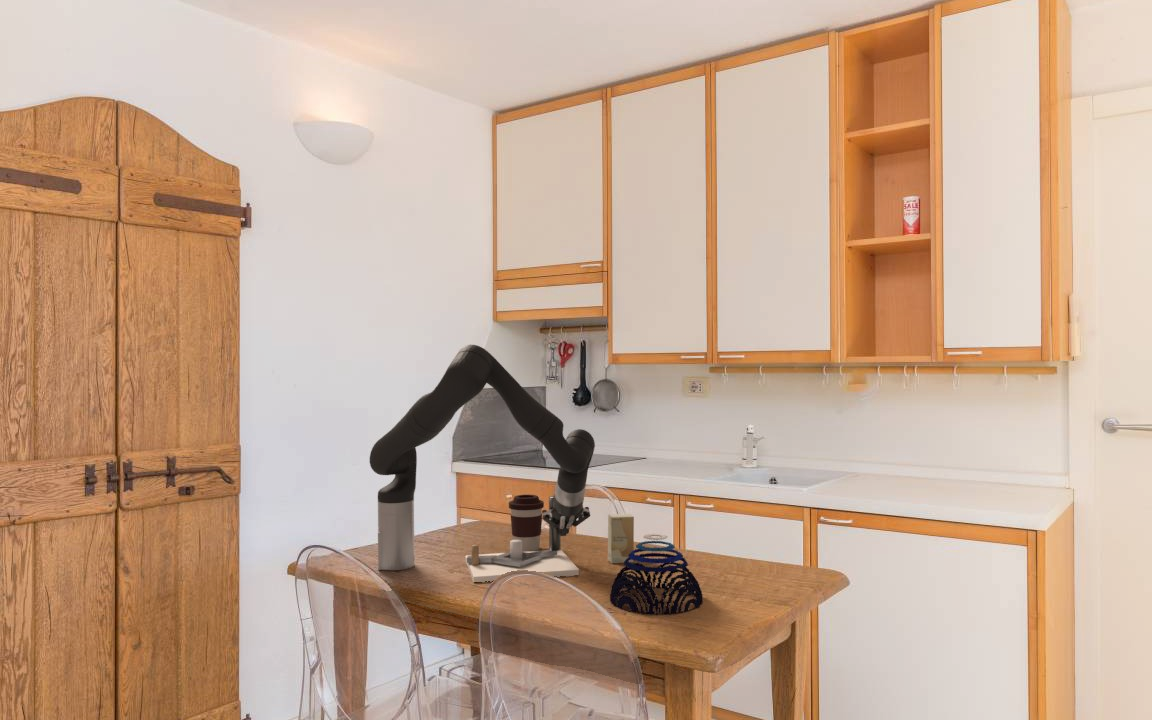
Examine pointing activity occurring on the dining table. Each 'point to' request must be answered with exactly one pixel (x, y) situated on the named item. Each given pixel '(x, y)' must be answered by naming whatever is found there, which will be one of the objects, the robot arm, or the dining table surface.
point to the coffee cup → (526, 520)
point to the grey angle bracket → (526, 557)
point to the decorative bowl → (637, 567)
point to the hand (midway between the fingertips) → (562, 533)
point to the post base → (549, 565)
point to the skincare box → (620, 537)
